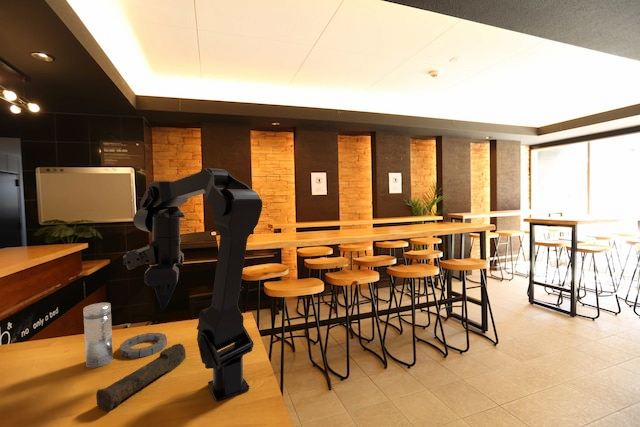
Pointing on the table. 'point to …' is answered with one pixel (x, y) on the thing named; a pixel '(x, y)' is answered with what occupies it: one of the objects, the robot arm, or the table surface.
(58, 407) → the table surface
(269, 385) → the table surface
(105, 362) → the silver metal cylinder
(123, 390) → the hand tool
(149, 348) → the ring
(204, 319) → the robot arm
